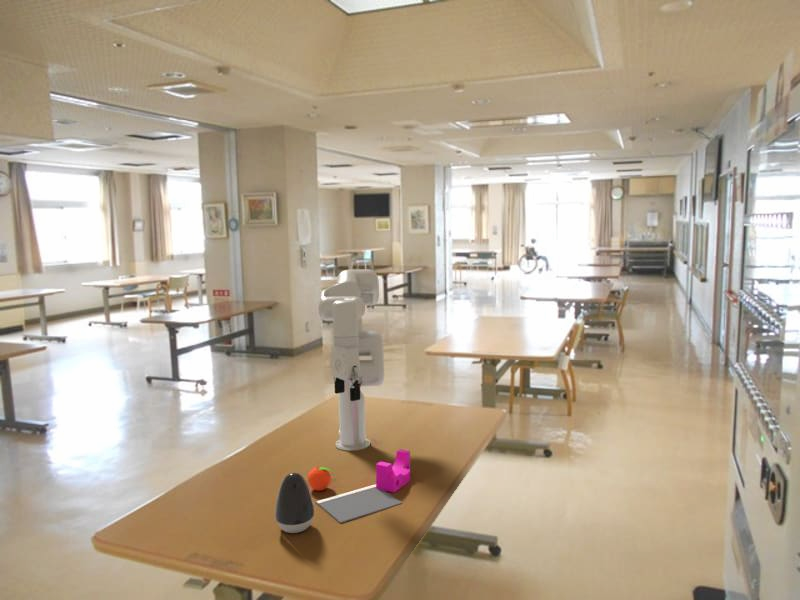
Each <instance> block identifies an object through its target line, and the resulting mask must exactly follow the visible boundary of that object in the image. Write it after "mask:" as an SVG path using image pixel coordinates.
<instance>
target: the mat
mask: <svg viewBox="0 0 800 600" xmlns="http://www.w3.org/2000/svg"><path fill="white" fill-rule="evenodd" d="M315 503H316V504H317V505H318V506H319V507H320V508H322V510H324V511H325V512H326V513H327V514H328V515H329V516H331V517H332V518H333V519H335V520H336V521H337V522H338V523H339V524H340V523H341V524H344V523H346V522H350V521H353V520H356V519H359V518H362V517H366V516H369V515H372V514H374V513H378V512H381V511H383V510H386V509H389V508H393V507H396V506H399V505H402V504H403V502H402V501H401V500H399V499H397V498H396V497H394V496H393V495H392V494H390V492H388V491H385V490H381V489H377V488H376V483H375V484H372V485H368V486H365V487H362V488H358V489H355V490H351V491H348V492H344V493H339V494H337V495H334V496H333V495H332V496H330V497H327V498H324V499H319V500H317V501H315Z"/></svg>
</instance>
